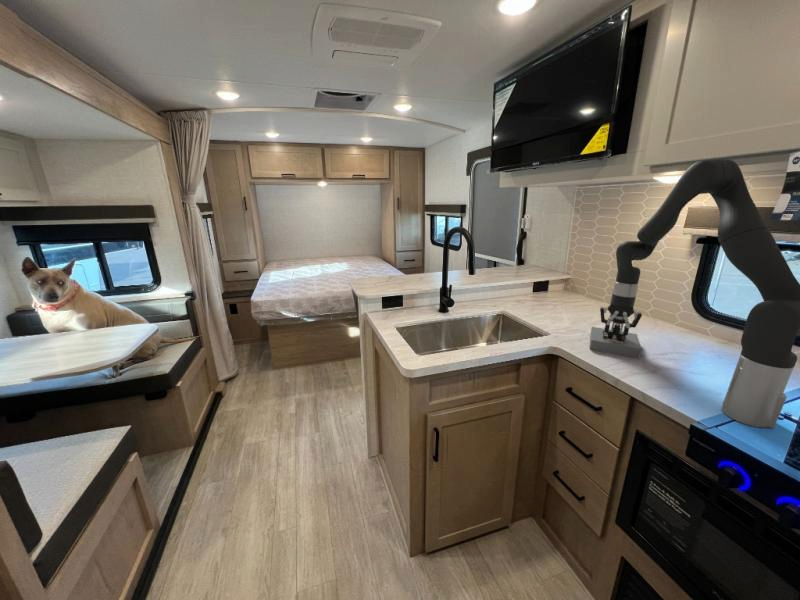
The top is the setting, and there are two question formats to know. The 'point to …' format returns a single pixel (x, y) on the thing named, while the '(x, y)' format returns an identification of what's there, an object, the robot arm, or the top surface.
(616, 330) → the push button
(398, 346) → the top surface
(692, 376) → the top surface
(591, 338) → the housing
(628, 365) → the top surface
